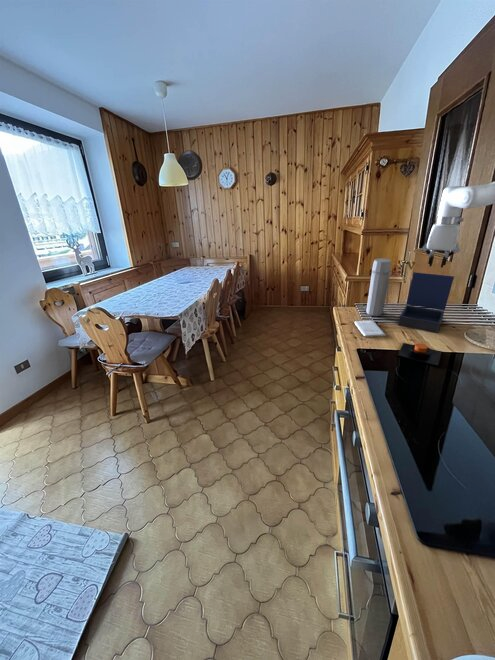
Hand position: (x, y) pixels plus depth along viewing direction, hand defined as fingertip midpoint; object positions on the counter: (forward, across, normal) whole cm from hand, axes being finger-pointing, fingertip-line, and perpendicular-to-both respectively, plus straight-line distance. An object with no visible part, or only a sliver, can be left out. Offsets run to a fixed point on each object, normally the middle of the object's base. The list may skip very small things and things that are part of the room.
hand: (436, 265), depth 121 cm
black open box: (+21, 0, +14) cm, 25 cm away
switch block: (+21, -4, +43) cm, 48 cm away
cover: (+9, 0, +7) cm, 12 cm away
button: (+19, -4, +43) cm, 47 cm away
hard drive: (+21, +16, +32) cm, 42 cm away
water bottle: (+21, +18, +14) cm, 31 cm away
